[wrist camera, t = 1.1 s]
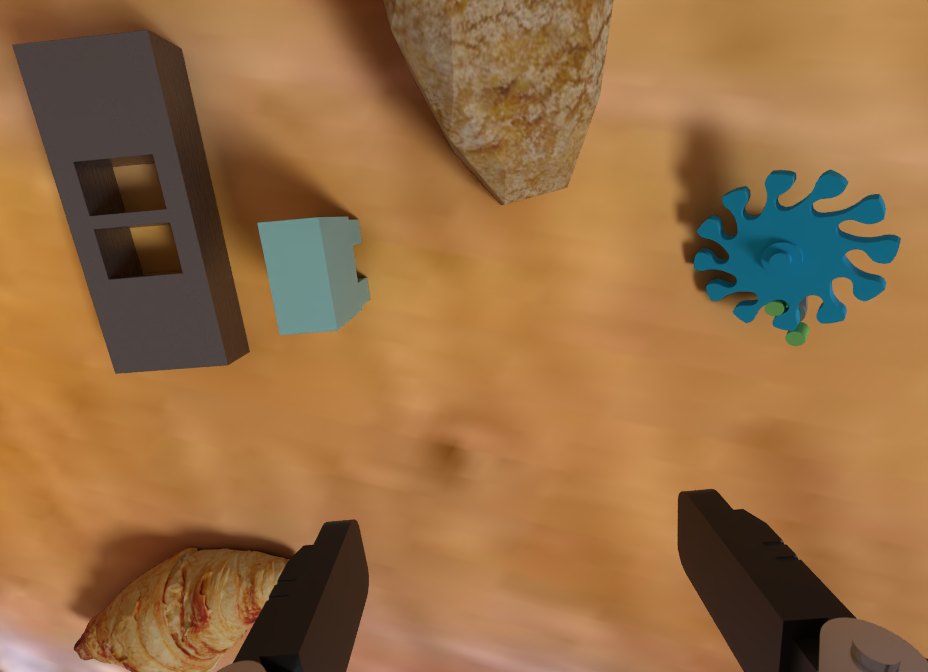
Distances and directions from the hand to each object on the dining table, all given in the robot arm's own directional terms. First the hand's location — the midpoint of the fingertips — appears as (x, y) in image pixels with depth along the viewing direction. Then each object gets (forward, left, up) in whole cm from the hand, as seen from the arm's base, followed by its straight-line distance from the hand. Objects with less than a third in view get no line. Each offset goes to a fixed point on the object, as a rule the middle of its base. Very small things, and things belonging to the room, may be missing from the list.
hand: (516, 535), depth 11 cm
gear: (-3, +18, -22) cm, 29 cm away
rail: (-9, -22, -22) cm, 32 cm away
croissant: (+23, -27, -22) cm, 42 cm away
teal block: (-5, -10, -22) cm, 25 cm away
